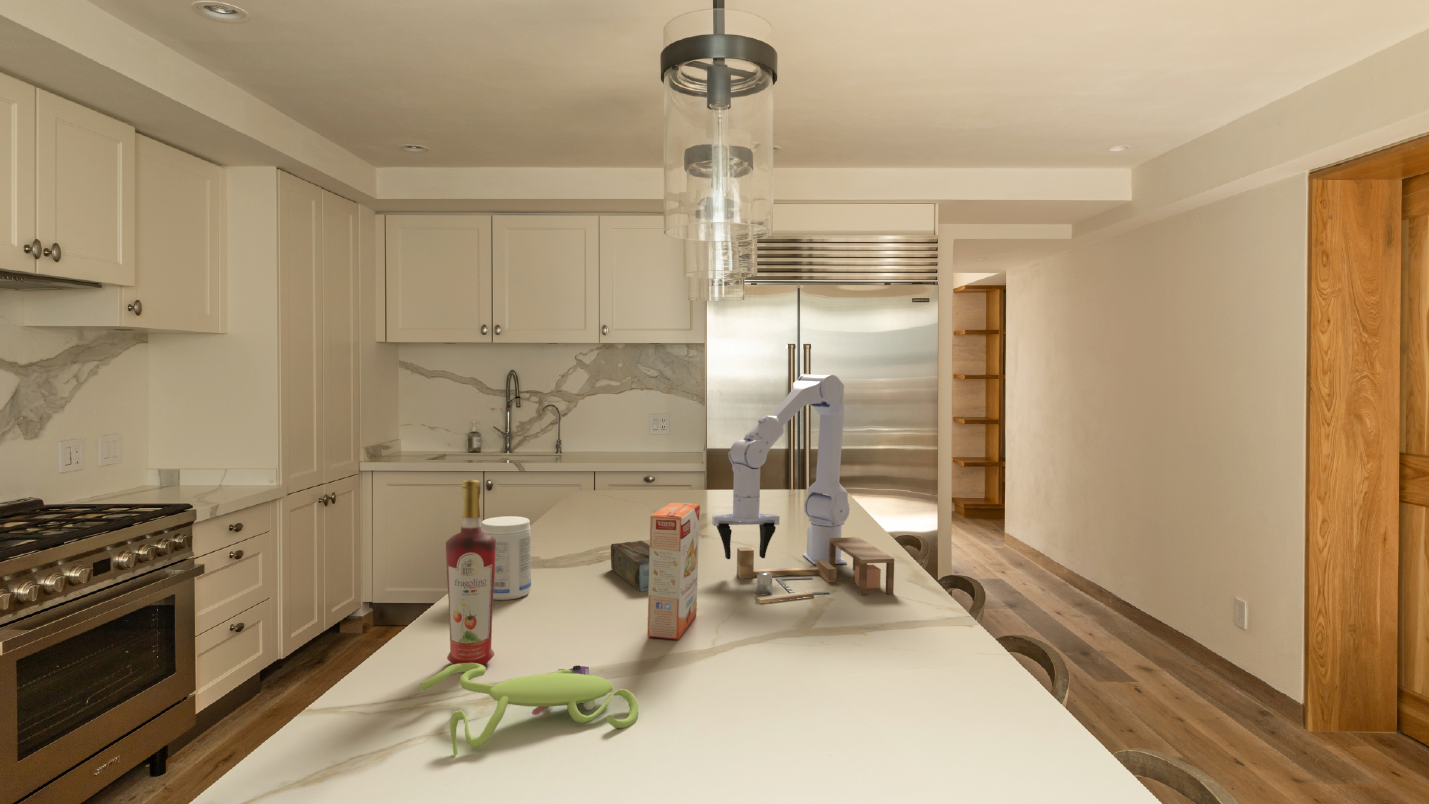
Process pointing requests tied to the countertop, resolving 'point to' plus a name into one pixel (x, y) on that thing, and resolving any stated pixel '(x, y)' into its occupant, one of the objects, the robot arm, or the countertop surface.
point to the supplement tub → (510, 555)
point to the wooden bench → (863, 559)
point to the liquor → (470, 584)
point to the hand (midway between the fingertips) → (745, 557)
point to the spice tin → (764, 583)
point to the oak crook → (747, 568)
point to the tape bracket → (795, 579)
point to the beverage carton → (632, 563)
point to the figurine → (535, 696)
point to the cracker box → (673, 569)
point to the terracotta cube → (870, 576)
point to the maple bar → (784, 597)
